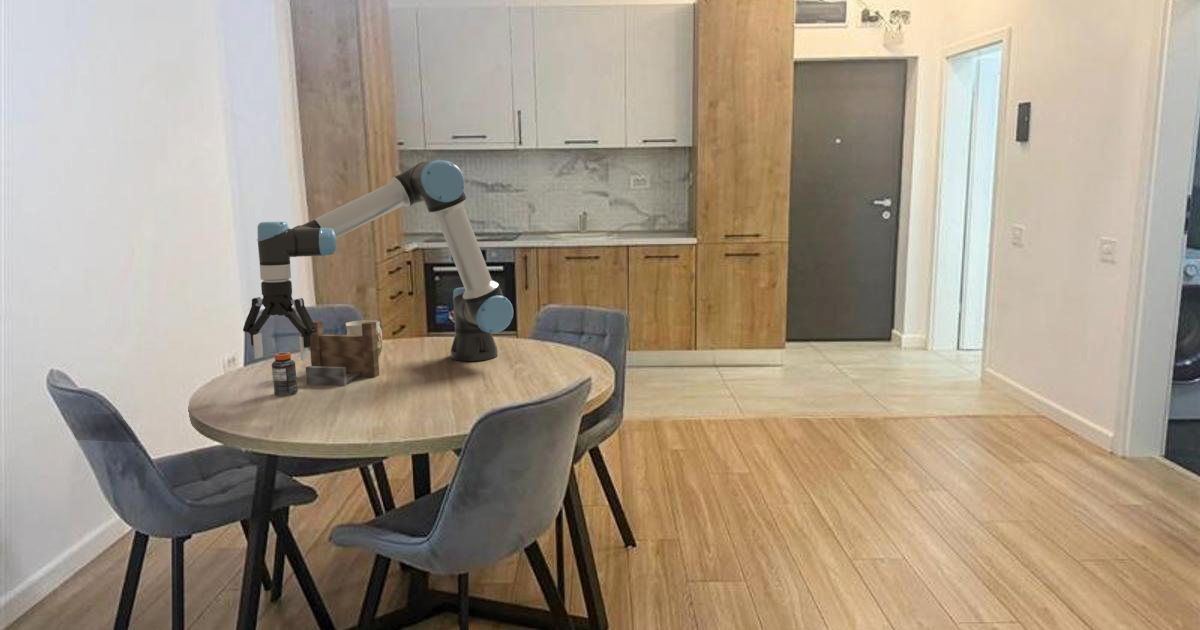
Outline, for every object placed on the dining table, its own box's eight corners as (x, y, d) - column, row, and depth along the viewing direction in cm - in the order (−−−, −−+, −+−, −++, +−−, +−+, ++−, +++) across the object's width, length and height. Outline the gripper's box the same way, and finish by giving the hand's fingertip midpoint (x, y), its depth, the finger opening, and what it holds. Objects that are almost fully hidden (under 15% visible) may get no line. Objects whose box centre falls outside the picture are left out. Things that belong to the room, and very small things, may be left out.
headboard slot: (379, 374, 231) (375, 321, 229) (358, 386, 219) (354, 330, 216) (317, 372, 235) (313, 320, 232) (293, 383, 222) (288, 328, 220)
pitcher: (397, 357, 254) (394, 316, 252) (366, 370, 237) (363, 326, 235) (367, 356, 257) (364, 315, 255) (335, 368, 240) (332, 325, 238)
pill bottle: (292, 389, 216) (289, 349, 214) (301, 393, 212) (298, 353, 210) (270, 394, 212) (267, 353, 210) (279, 398, 208) (275, 356, 206)
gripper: (326, 279, 208) (331, 357, 212) (242, 277, 213) (248, 354, 216) (311, 282, 201) (316, 363, 204) (224, 281, 205) (231, 359, 209)
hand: (281, 358), depth 210 cm, fingers open, 13 cm apart
